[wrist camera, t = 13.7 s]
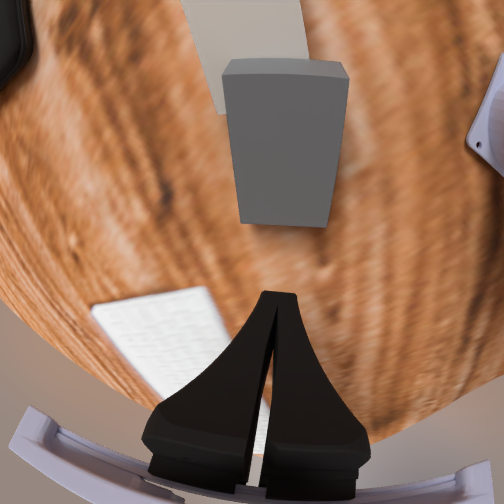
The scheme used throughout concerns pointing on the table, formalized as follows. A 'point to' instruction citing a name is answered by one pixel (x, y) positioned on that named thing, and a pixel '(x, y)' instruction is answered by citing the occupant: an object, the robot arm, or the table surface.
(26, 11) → the carrying case or bag
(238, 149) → the domino
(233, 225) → the table surface
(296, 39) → the domino
